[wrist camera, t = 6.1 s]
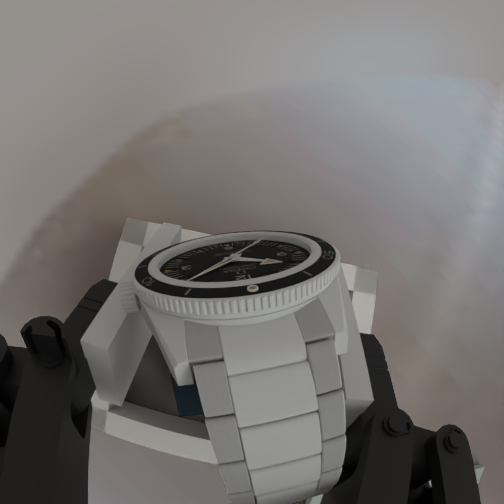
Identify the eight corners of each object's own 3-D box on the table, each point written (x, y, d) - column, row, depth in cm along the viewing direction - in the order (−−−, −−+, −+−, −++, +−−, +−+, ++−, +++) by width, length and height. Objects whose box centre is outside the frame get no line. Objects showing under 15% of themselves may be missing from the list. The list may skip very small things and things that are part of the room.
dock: (358, 279, 17) (378, 270, 14) (322, 457, 14) (336, 475, 12) (140, 232, 16) (126, 217, 14) (101, 412, 14) (82, 423, 11)
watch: (270, 265, 16) (366, 154, 6) (296, 412, 15) (421, 510, 4) (163, 280, 15) (80, 184, 5) (190, 431, 14) (165, 576, 3)
